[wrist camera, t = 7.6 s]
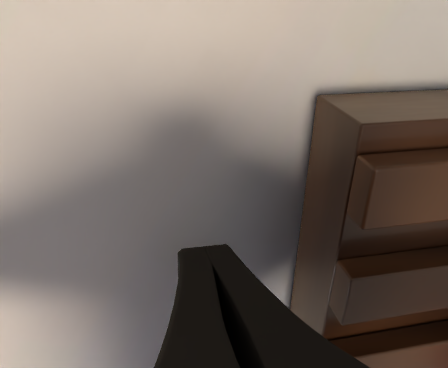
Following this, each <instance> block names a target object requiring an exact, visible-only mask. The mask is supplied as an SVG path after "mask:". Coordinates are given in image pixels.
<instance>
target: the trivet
mask: <svg viewBox="0 0 448 368" xmlns="http://www.w3.org/2000/svg"><path fill="white" fill-rule="evenodd" d="M290 310H291V311H292V312H293V313H294V314H295V315H297V316H298V317H299V318H300V319H301V320H303V321H304V322H305V323H306V324H307V325H309V326H310V327H311V328H312V329H314V330H315V331H316V332H318V333H319V334H320V335H322V336H323V337H324V338H326V339H327V340H328V341H330V342H331V343H333V344H334V345H336V346H337V347H339V348H340V349H342V350H343V351H345V352H346V353H348V354H349V355H351V356H353V357H354V358H356V359H357V360H359V361H360V362H362V363H364V364H365V365H367V366H368V367H370V368H448V89H444V90H422V91H399V92H377V93H354V94H332V95H318V96H317V102H316V110H315V118H314V126H313V134H312V142H311V149H310V157H309V165H308V173H307V181H306V189H305V197H304V204H303V212H302V220H301V228H300V236H299V244H298V252H297V260H296V267H295V275H294V283H293V291H292V299H291V307H290Z"/></svg>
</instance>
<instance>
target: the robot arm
mask: <svg viewBox="0 0 448 368" xmlns="http://www.w3.org/2000/svg"><path fill="white" fill-rule="evenodd" d="M154 368H370V367H368V366H367V365H365V364H364V363H362V362H360V361H359V360H357V359H356V358H354V357H353V356H351V355H349V354H348V353H346V352H345V351H343V350H342V349H340V348H339V347H337V346H336V345H334V344H333V343H331V342H330V341H328V340H327V339H326V338H324V337H323V336H322V335H320V334H319V333H318V332H316V331H315V330H314V329H312V328H311V327H310V326H309V325H307V324H306V323H305V322H304V321H303V320H301V319H300V318H299V317H298V316H297V315H295V314H294V313H293V312H292V311H291V310H290V309H289V308H288V307H286V306H285V305H284V304H283V303H282V302H281V301H280V300H279V299H278V298H277V297H276V296H275V295H274V294H273V293H272V292H271V291H270V290H269V289H268V288H267V287H266V286H265V285H263V284H262V283H261V282H260V281H259V279H258V278H257V277H256V276H255V275H254V274H253V273H252V272H251V271H250V270H249V269H248V268H247V267H246V265H245V264H244V263H243V262H242V261H241V260H240V259H239V258H238V256H237V255H236V254H235V253H234V252H233V250H232V249H231V248H230V247H229V246H228V245H227V244H222V245H212V246H203V247H193V248H184V249H181V250H180V251H179V252H178V285H177V290H176V296H175V301H174V306H173V310H172V313H171V317H170V321H169V324H168V328H167V332H166V335H165V338H164V341H163V344H162V347H161V350H160V353H159V355H158V358H157V361H156V363H155V366H154Z"/></svg>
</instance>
